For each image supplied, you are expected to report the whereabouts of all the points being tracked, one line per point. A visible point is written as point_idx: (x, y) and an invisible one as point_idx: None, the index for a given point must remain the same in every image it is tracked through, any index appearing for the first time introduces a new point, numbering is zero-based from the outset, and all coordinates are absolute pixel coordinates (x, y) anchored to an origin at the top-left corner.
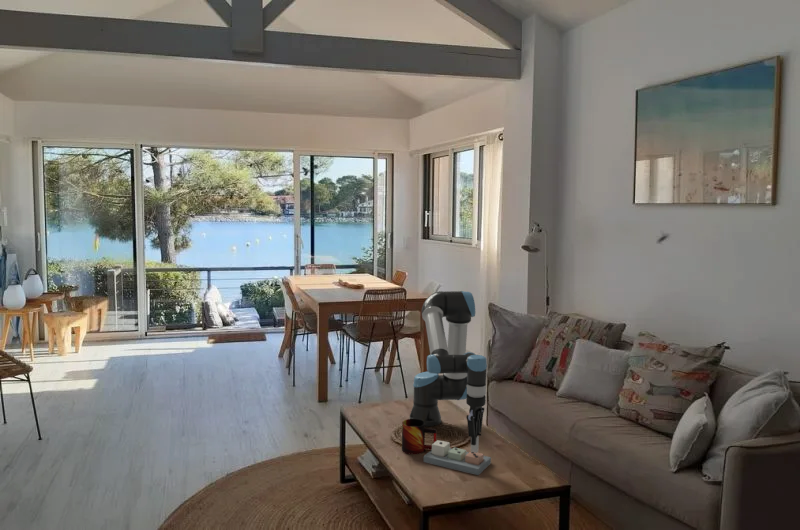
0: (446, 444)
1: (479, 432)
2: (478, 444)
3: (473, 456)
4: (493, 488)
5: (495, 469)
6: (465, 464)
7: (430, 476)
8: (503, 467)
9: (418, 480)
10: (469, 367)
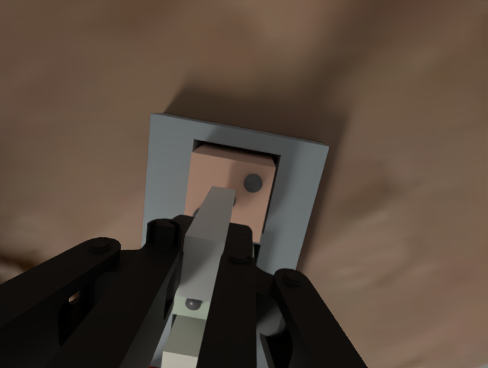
0: (195, 360)
1: (144, 250)
2: (203, 202)
3: (253, 200)
4: (455, 34)
5: (224, 73)
6: (291, 219)
7: (383, 316)
8: (183, 35)
9: (427, 343)
10: None
